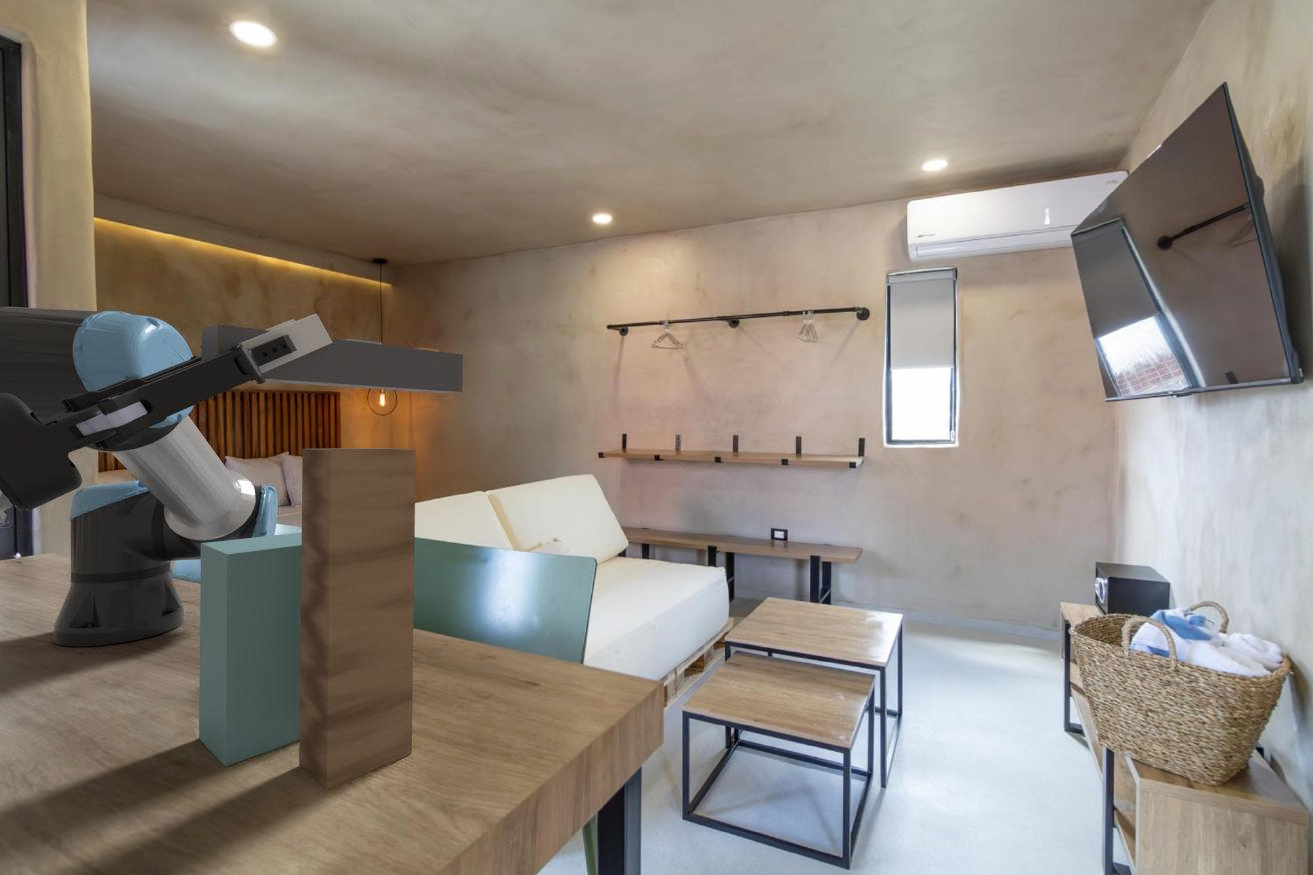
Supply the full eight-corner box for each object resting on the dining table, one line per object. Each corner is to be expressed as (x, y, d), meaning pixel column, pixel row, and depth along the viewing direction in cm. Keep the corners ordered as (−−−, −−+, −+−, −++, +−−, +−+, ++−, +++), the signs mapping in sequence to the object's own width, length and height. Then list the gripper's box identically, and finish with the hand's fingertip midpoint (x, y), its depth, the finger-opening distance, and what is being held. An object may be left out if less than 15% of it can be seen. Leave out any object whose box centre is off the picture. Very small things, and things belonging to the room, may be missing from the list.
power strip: (201, 377, 51) (201, 324, 51) (441, 393, 68) (441, 353, 68) (217, 375, 48) (217, 319, 48) (462, 392, 65) (462, 350, 65)
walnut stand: (299, 765, 58) (302, 448, 58) (381, 733, 64) (385, 447, 64) (326, 789, 54) (330, 451, 54) (411, 753, 60) (415, 449, 60)
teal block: (198, 738, 63) (200, 543, 62) (308, 703, 71) (310, 531, 71) (225, 766, 58) (227, 554, 57) (340, 725, 66) (342, 539, 66)
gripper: (2, 504, 46) (294, 373, 62) (35, 530, 36) (378, 363, 51) (-74, 417, 43) (253, 302, 59) (-64, 417, 33) (332, 276, 48)
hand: (310, 331), depth 55 cm, fingers closed on power strip, 4 cm apart
